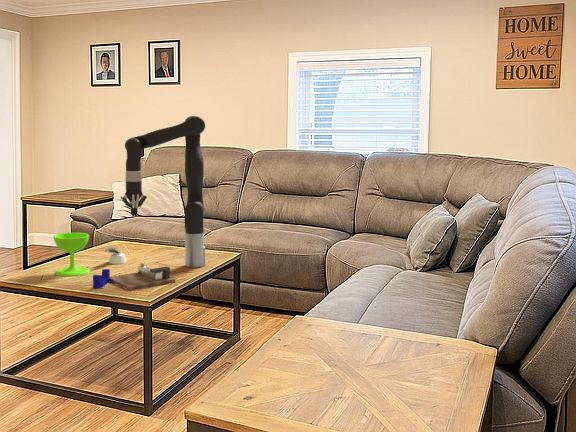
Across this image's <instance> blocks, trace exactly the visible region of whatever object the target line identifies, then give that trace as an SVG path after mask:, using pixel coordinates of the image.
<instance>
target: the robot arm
mask: <svg viewBox="0 0 576 432" xmlns="http://www.w3.org/2000/svg"><path fill="white" fill-rule="evenodd" d="M205 129H206V122H205V120H204V119H203V118H202V117H200V116H198V115H197V116H196V115H190V116H188V117H187V118H186V119H185V120H184V121H183V122H181V123H179V124H175V125H172V126H168V127H164V128H159V129H156V130H153V131H150V132H148V133H147V132H146V133H145V134H142V135H136V136H134V137H133V136H132V137H130V138H127V140H125V143H124V148H125V150H126V160H125V193H124V195H123V196H121V197H120V199H121V201H122V202H123V204H125V206H126V207H127V208H130V215H131V216H133V217H137V215H138V213H139V211H138V210H139V209H138V208H140V207H142V206H143V204H144V203H145V201H146V199H147V195H144V194H143V190H142V189H143V187H142V185H143V184H142V183H143V182H142V180H143V179H142V178H143V175H142V162H141V160H142V150H145V149H148V148H150V149H151V148H153V147H157V146H160V145H162V144H166V143H168V142H170V141H174V140H177V139H180V138H184V139H185V149H184V151H185V152H184V175H185V176H184V177H185V183H186V187H187V200H186V206H185V208H184V230H185V231H184V239H185V241H184V246H185V248H184V250H185V252H184V253H185V254H184V255H185V256H184V257H185V258H184V259H185V260H184V261H185V262H184V264H185V265H184V266H185V267H187V268H192V269H193V268H202V267H204V266H206V247H205V245H204V244H205V241H204V239H205V238H204V229H205V227H204V212H205V207H204V198H203V197H204V196H203V186H204V171H205V170H204V169H205V168H204V164H205V163H204V157H203V151H202V148H201V134H202V133H203V132H204V131H205Z"/></svg>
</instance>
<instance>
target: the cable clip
mask: <svg viewBox="0 0 576 432" xmlns="http://www.w3.org/2000/svg"><path fill="white" fill-rule="evenodd" d="M110 277H111V270H110V268H109V269H108V268H103V269H102V270H101V274H93V275H92V285H93V286H92V288H93V289H94V290H100V289H102V288H103V287H105V286H106V285H108V284H109V283H110Z"/></svg>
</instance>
